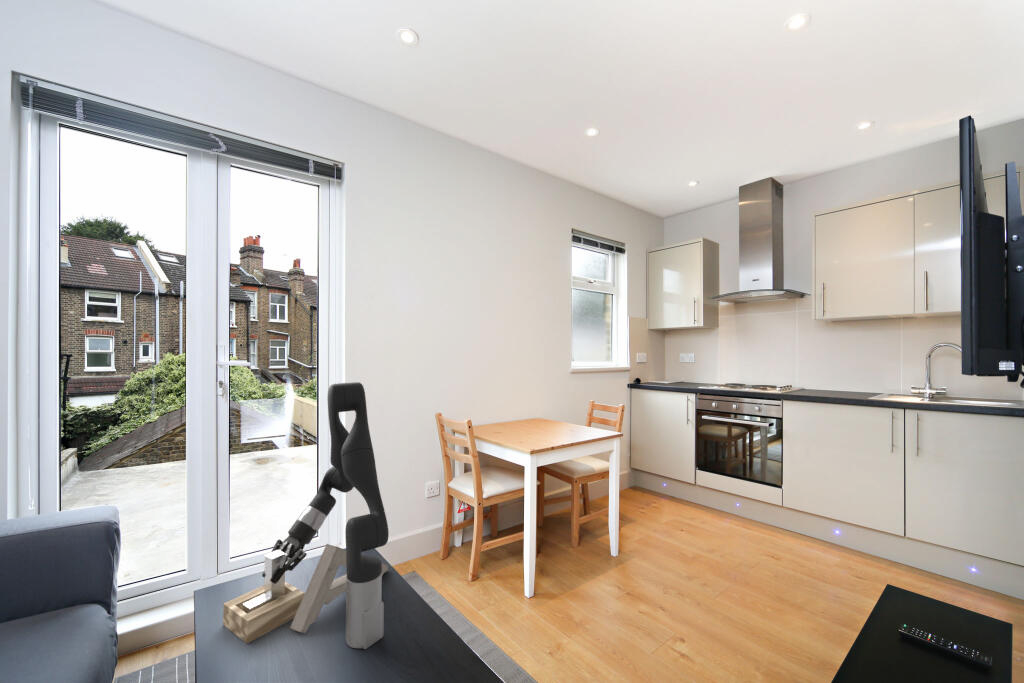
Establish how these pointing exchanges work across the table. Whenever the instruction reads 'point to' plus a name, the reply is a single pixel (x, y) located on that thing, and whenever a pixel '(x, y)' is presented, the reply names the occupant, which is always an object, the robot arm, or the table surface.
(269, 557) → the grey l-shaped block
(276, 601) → the beech well block
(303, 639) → the table surface
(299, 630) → the grey letter a
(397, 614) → the table surface
